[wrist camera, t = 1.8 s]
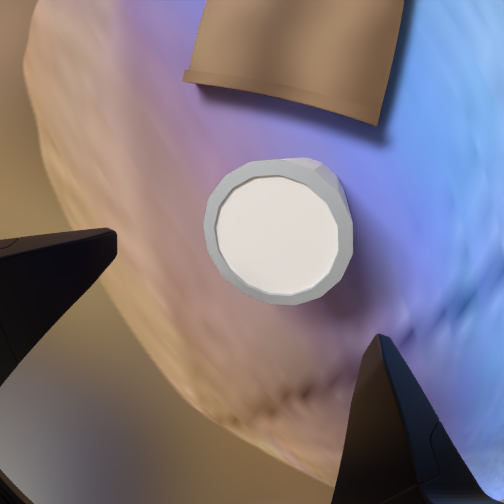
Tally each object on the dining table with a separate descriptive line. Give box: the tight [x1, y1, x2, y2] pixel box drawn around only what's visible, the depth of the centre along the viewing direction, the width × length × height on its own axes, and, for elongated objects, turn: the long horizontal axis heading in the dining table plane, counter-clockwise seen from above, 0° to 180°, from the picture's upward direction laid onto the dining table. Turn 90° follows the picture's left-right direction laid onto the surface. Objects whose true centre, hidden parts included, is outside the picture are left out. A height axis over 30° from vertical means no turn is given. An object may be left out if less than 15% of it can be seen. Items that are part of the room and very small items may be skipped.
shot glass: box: [203, 157, 353, 305], centre depth 16 cm, size 7×7×7 cm
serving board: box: [182, 0, 404, 126], centre depth 13 cm, size 12×12×2 cm
